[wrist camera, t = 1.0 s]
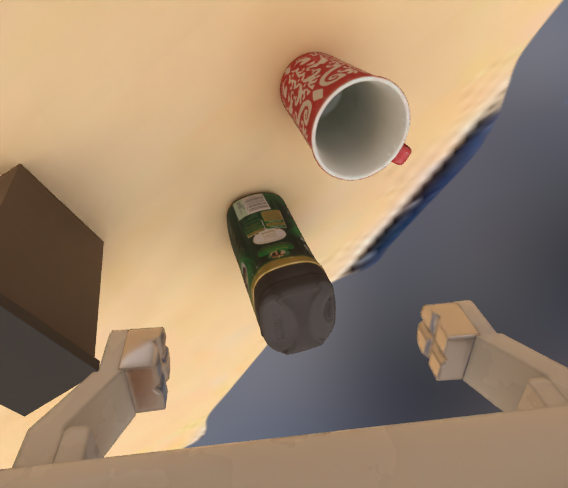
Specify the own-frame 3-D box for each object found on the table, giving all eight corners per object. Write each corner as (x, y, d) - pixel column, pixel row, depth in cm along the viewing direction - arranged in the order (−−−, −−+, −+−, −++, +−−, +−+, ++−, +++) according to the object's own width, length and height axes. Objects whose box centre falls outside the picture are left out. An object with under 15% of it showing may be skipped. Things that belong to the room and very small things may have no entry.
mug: (253, 101, 47) (290, 151, 36) (304, 22, 44) (359, 53, 33) (338, 155, 53) (389, 211, 43) (386, 91, 50) (455, 134, 40)
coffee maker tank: (-42, 199, 44) (-130, 339, 29) (20, 159, 44) (-37, 280, 29) (54, 275, 52) (24, 416, 37) (107, 242, 51) (99, 372, 36)
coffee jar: (291, 245, 59) (344, 348, 45) (234, 260, 58) (269, 371, 44) (284, 182, 53) (342, 277, 39) (220, 197, 52) (255, 301, 38)
